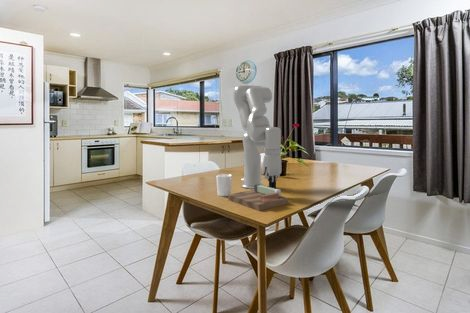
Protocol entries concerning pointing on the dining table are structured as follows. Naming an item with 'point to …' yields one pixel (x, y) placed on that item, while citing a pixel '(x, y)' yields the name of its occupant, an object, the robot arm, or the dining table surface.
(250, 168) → the robot arm
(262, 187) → the stool leg
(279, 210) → the dining table surface
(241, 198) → the stool seat
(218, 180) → the white cup
